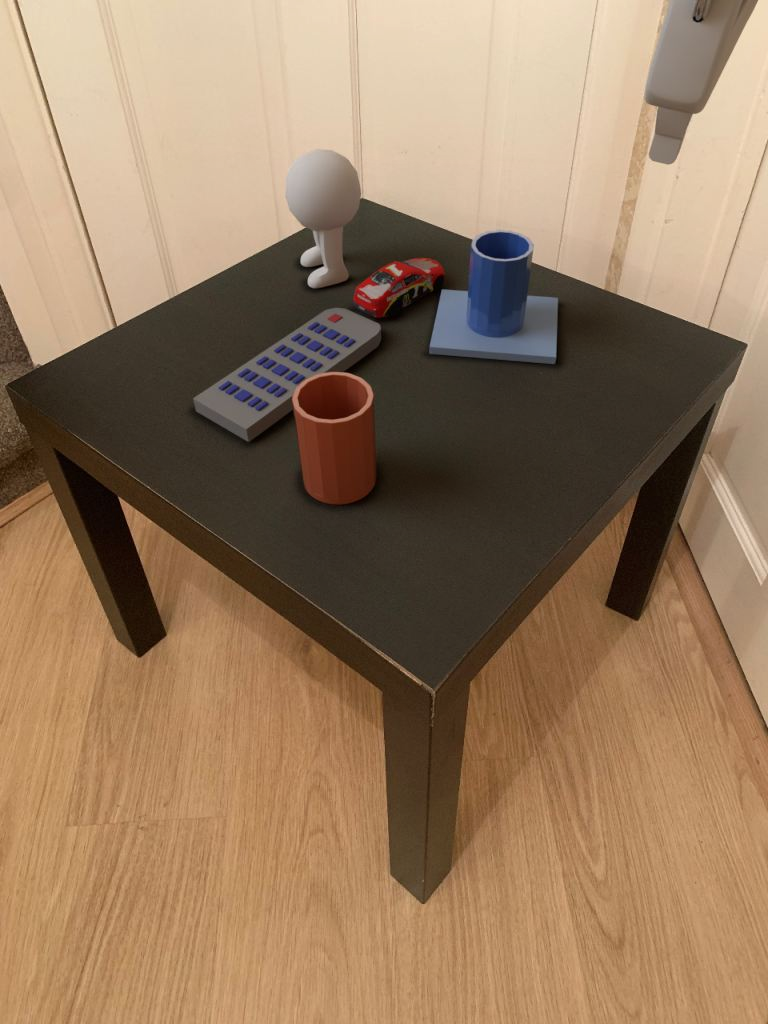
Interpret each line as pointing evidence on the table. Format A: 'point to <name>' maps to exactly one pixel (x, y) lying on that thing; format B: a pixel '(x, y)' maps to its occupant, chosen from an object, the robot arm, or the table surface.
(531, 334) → the blue mat
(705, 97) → the robot arm
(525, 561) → the table surface
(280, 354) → the remote control
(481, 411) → the table surface
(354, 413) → the terracotta cup
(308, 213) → the toy character
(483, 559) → the table surface
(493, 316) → the blue cup
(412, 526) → the table surface
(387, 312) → the race car
